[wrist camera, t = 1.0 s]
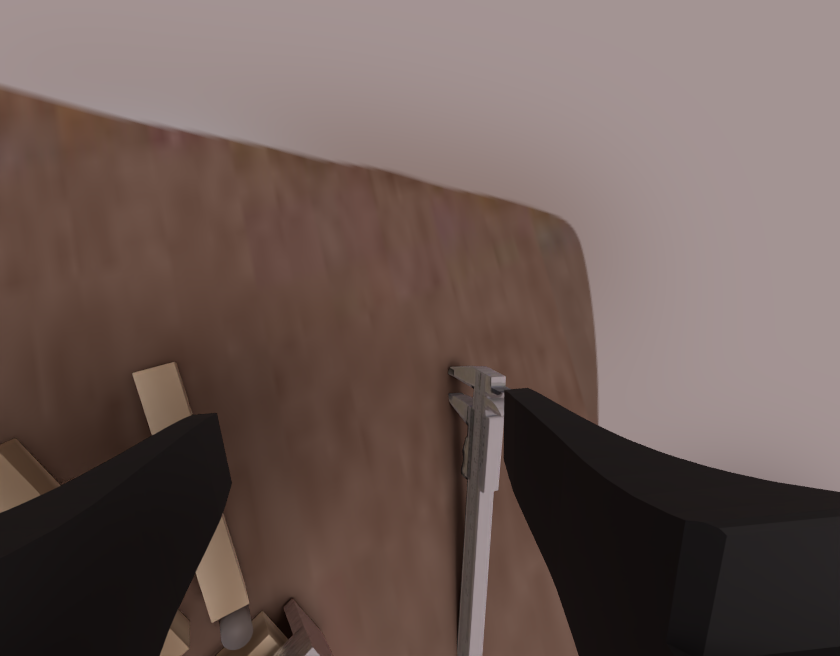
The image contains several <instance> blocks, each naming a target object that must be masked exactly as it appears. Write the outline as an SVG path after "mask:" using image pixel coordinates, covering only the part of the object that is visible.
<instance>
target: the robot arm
mask: <svg viewBox="0 0 840 656" xmlns="http://www.w3.org/2000/svg"><path fill="white" fill-rule="evenodd" d="M504 462H505V465H506V469H507V472H508V476H509V479H510V482H511V485H512V489H513V492H514V494H515V497H516V499H517V501H518V503H519V506H520V508H521V510H522V512H523V514H524V517H525V519H526V521H527V523H528V525H529V528H530V530H531V532H532V534H533V536H534V539H535V541H536V543H537V545H538V547H539V549H540V552H541V554H542V556H543V558H544V560H545V562H546V565H547V567H548V569H549V571H550V574H551V576H552V579H553V581H554V584H555V586H556V589H557V592H558V595H559V597H560V600H561V603H562V606H563V609H564V612H565V615H566V618H567V621H568V624H569V627H570V630H571V633H572V636H573V639H574V642H575V645H576V648H577V652H578V655H579V656H840V492H836V491H829V490H823V489H816V488H810V487H804V486H797V485H791V484H785V483H778V482H772V481H767V480H763V479H758V478H754V477H749V476H745V475H740V474H735V473H731V472H727V471H723V470H719V469H715V468H711V467H707V466H704V465H700V464H697V463H694V462H691V461H687V460H684V459H680V458H677V457H674V456H671V455H668V454H665V453H662V452H659V451H656V450H653V449H651V448H648V447H646V446H643V445H641V444H638V443H636V442H633V441H631V440H628V439H626V438H623V437H621V436H619V435H617V434H615V433H613V432H610V431H608V430H606V429H604V428H602V427H600V426H598V425H596V424H594V423H592V422H590V421H588V420H586V419H584V418H582V417H580V416H579V415H577V414H575V413H573V412H571V411H569V410H568V409H566V408H564V407H562V406H561V405H559V404H557V403H555V402H554V401H552V400H550V399H548V398H547V397H545V396H543V395H541V394H539V393H537V392H535V391H533V390H531V389H529V388H522V389H510V390H504ZM231 484H232V481H231V477H230V472H229V467H228V463H227V458H226V453H225V449H224V444H223V440H222V435H221V430H220V426H219V421H218V416H217V413H211V414H198V415H191V416H188V417H186V418H183V419H181V420H179V421H177V422H175V423H174V424H172V425H170V426H168V427H166V428H164V429H163V430H161V431H159V432H157V433H156V434H154V435H152V436H150V437H149V438H147V439H145V440H143V441H142V442H140V443H138V444H137V445H135V446H133V447H131V448H130V449H128V450H126V451H124V452H123V453H121V454H119V455H117V456H116V457H114V458H112V459H110V460H108V461H106V462H105V463H103V464H101V465H99V466H97V467H95V468H93V469H92V470H90V471H88V472H86V473H84V474H82V475H80V476H79V477H77V478H75V479H73V480H71V481H69V482H67V483H65V484H63V485H61V486H59V487H57V488H55V489H53V490H51V491H49V492H47V493H44V494H42V495H40V496H38V497H36V498H33V499H31V500H29V501H27V502H25V503H22V504H20V505H18V506H16V507H13V508H11V509H9V510H6V511H4V512H1V513H0V656H160V654H161V651H162V648H163V645H164V643H165V640H166V637H167V634H168V632H169V629H170V627H171V624H172V622H173V620H174V617H175V615H176V613H177V610H178V608H179V606H180V604H181V602H182V600H183V598H184V595H185V593H186V591H187V589H188V587H189V585H190V583H191V581H192V579H193V577H194V575H195V573H196V571H197V568H198V566H199V564H200V562H201V560H202V558H203V556H204V554H205V552H206V550H207V548H208V546H209V543H210V541H211V539H212V537H213V535H214V533H215V531H216V529H217V526H218V524H219V522H220V520H221V517H222V514H223V511H224V508H225V505H226V501H227V498H228V495H229V491H230V488H231Z"/></svg>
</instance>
